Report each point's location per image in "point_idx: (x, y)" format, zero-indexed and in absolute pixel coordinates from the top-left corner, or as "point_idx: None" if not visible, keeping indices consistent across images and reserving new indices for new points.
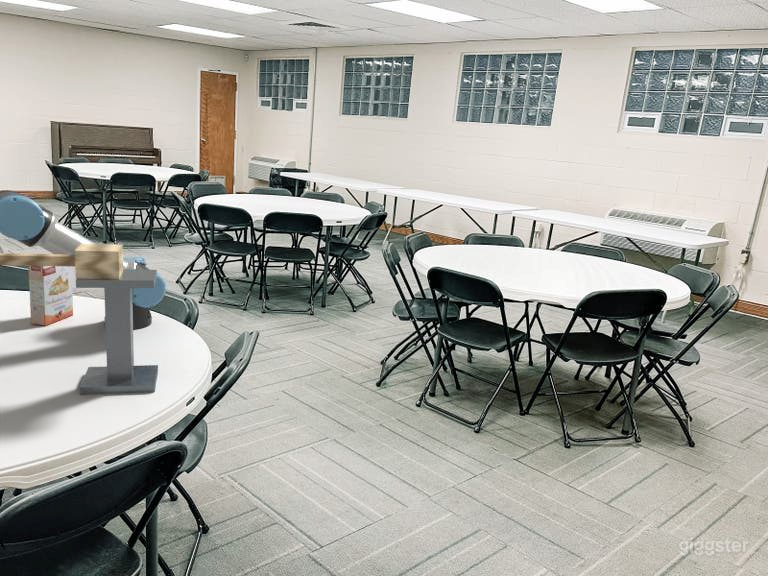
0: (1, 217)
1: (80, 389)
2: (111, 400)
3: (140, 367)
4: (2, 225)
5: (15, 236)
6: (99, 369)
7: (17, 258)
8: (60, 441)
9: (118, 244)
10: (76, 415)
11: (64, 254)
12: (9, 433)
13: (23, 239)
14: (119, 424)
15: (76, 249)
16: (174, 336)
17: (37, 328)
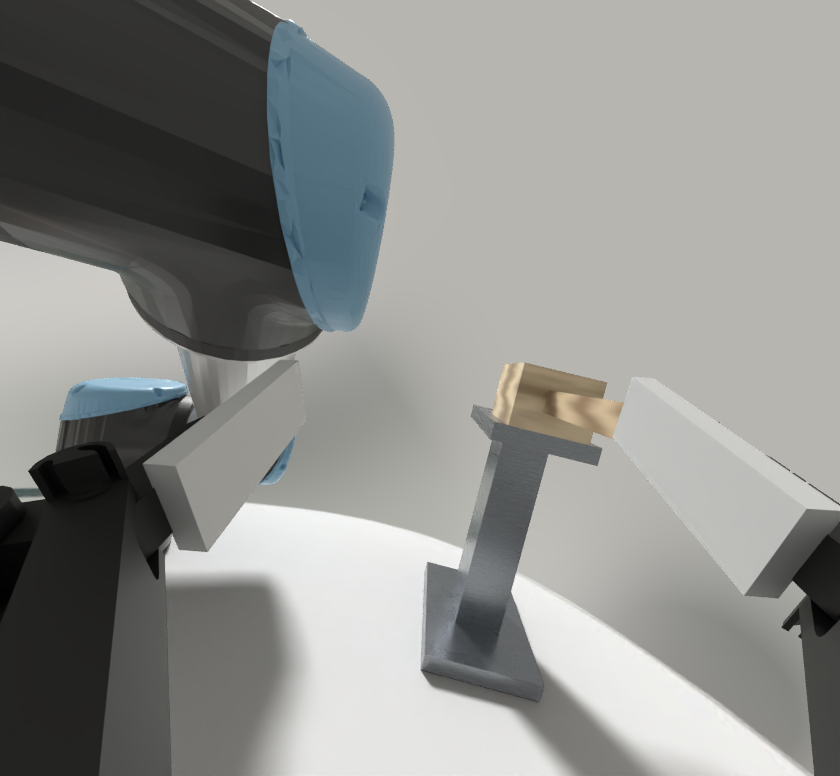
0: (389, 185)
1: (542, 688)
2: (550, 651)
3: (436, 581)
4: (380, 237)
5: (363, 313)
6: (441, 637)
7: None
8: (753, 759)
9: (506, 364)
10: (636, 719)
11: (561, 392)
12: None
13: (347, 331)
14: (632, 656)
15: (593, 379)
16: (264, 519)
17: None
